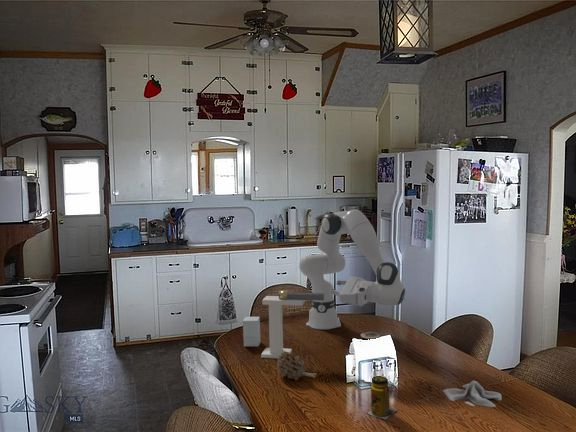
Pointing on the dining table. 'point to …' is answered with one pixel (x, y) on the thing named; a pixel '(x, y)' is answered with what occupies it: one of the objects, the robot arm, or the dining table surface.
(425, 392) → the dining table surface
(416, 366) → the dining table surface
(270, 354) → the stand
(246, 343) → the supplement box
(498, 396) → the cloth
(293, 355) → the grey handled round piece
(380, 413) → the condiment
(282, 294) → the link bar
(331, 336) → the dining table surface
